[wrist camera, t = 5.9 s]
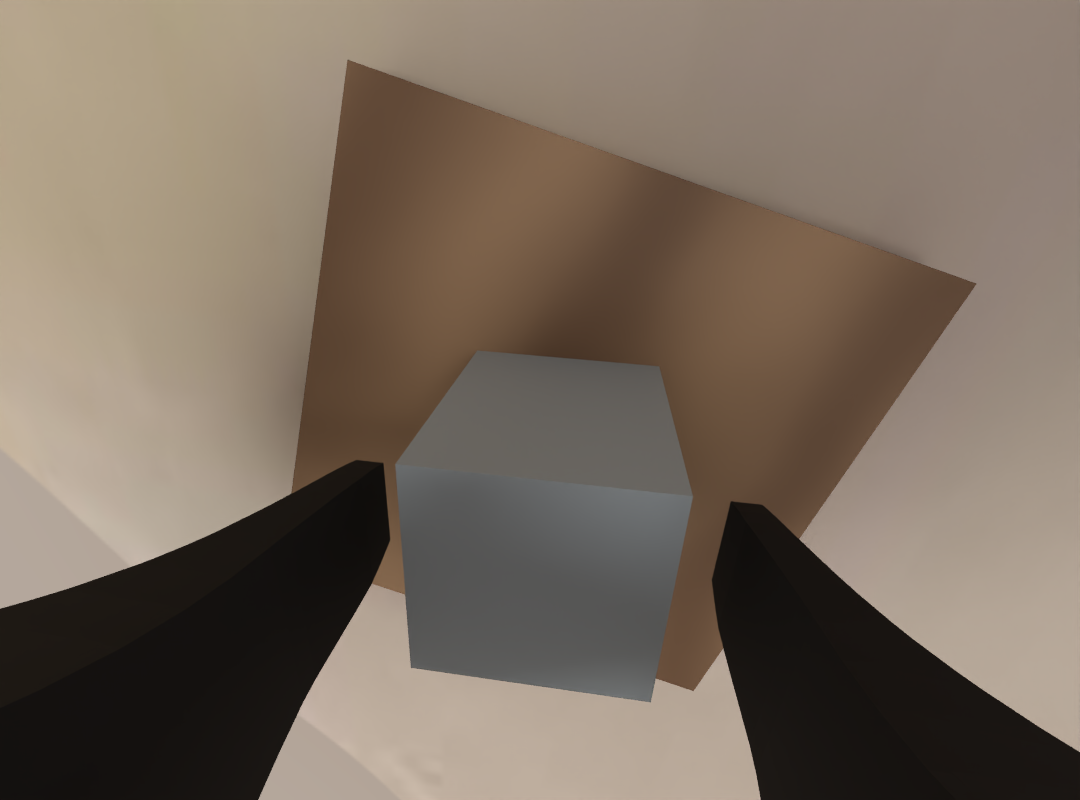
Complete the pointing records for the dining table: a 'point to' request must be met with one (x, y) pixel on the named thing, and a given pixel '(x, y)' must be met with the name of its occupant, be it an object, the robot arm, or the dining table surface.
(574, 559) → the block
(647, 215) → the board
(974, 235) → the dining table surface
